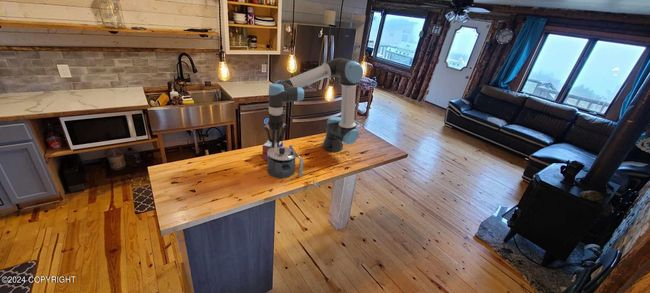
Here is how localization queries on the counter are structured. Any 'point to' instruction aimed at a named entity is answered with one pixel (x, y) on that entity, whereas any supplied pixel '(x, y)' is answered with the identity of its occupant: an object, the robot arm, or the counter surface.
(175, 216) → the counter surface
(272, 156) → the lid
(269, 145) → the puzzle cube
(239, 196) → the counter surface
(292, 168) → the pot
